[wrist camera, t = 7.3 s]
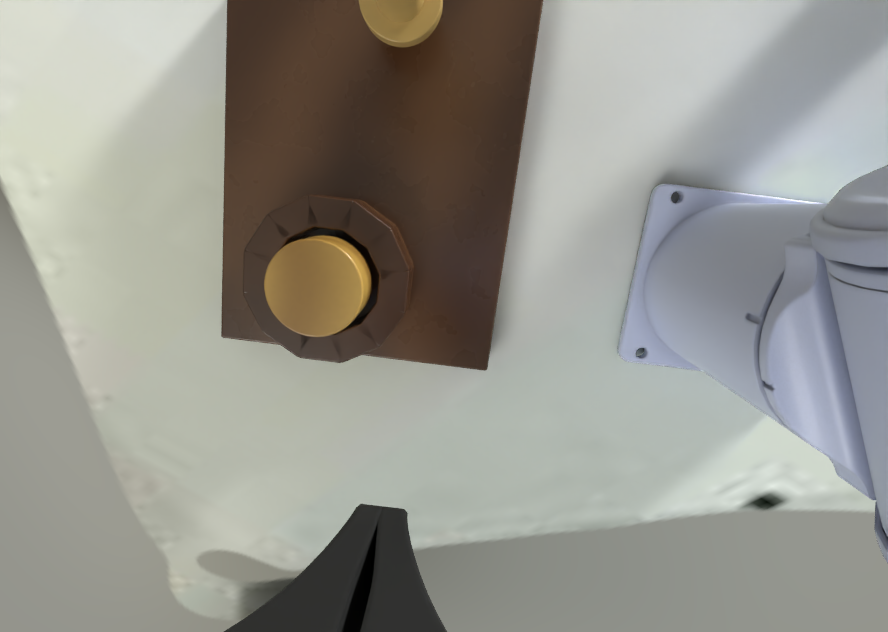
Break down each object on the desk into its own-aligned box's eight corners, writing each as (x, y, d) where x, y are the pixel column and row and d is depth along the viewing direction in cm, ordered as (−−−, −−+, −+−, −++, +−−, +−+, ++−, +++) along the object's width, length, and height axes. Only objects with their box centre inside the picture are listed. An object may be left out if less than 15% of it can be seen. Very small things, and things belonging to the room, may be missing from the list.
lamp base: (537, 12, 20) (554, -28, 16) (485, 360, 23) (490, 388, 20) (244, -26, 20) (199, -74, 16) (235, 329, 23) (197, 351, 20)
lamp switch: (376, 241, 19) (367, 245, 17) (368, 329, 20) (359, 343, 18) (284, 229, 19) (265, 232, 17) (280, 318, 20) (261, 331, 18)
